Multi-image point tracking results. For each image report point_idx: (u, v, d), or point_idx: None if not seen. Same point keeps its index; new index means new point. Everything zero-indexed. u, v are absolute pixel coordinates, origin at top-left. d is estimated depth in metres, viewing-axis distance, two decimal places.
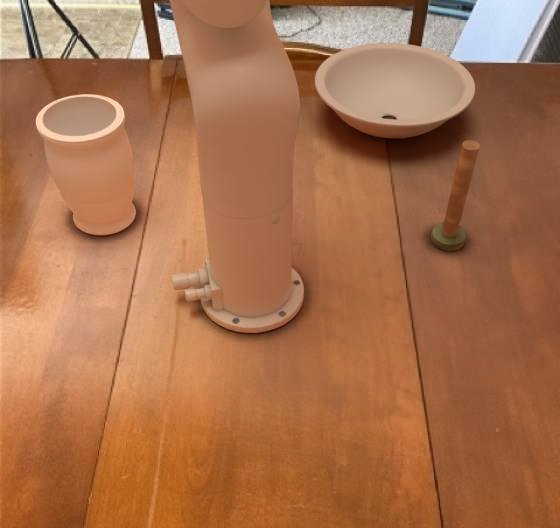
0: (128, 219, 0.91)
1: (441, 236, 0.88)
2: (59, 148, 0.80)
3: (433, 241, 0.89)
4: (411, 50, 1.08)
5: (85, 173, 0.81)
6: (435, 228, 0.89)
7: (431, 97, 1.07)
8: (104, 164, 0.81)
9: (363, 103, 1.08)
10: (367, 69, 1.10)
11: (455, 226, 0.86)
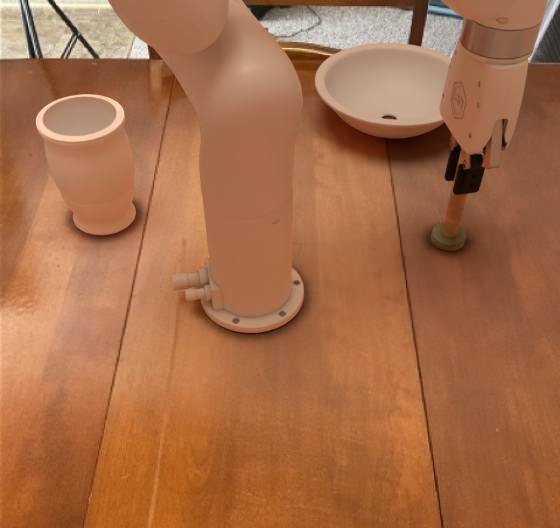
0: (128, 219, 0.91)
1: (441, 236, 0.88)
2: (59, 148, 0.80)
3: (433, 241, 0.89)
4: (411, 50, 1.08)
5: (85, 173, 0.81)
6: (435, 228, 0.89)
7: (431, 97, 1.07)
8: (104, 164, 0.81)
9: (363, 103, 1.08)
10: (367, 69, 1.10)
11: (455, 226, 0.86)
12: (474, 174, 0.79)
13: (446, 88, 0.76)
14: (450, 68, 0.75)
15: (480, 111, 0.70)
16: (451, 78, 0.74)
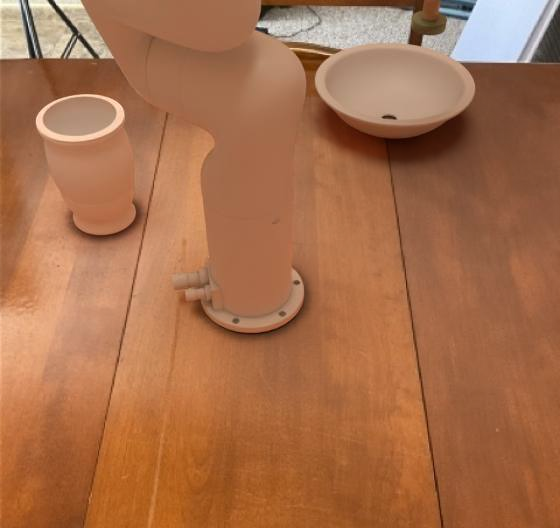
0: (128, 218, 0.91)
1: (421, 20, 0.86)
2: (59, 148, 0.80)
3: (413, 26, 0.86)
4: (411, 50, 1.08)
5: (85, 173, 0.81)
6: (415, 14, 0.87)
7: (431, 97, 1.07)
8: (104, 164, 0.81)
9: (363, 103, 1.08)
10: (367, 68, 1.10)
11: (435, 6, 0.84)
12: None
13: None
14: None
15: None
16: None
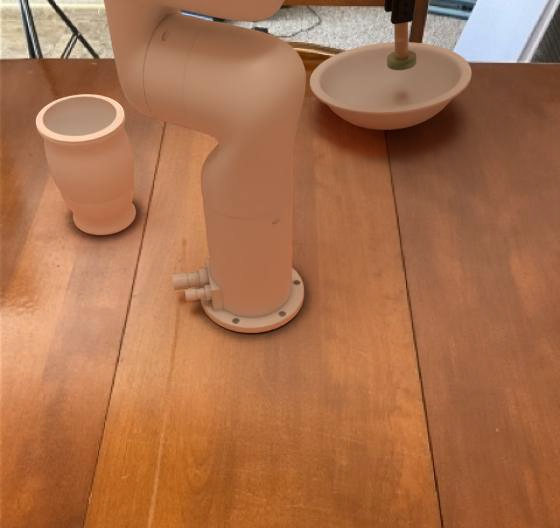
0: (128, 218, 0.91)
1: (394, 58, 1.02)
2: (59, 148, 0.80)
3: (388, 64, 1.03)
4: None
5: (85, 173, 0.81)
6: (390, 54, 1.04)
7: (430, 89, 1.07)
8: (104, 164, 0.81)
9: (362, 102, 1.08)
10: (364, 69, 1.10)
11: (403, 45, 1.01)
12: (406, 2, 0.95)
13: None
14: None
15: None
16: None
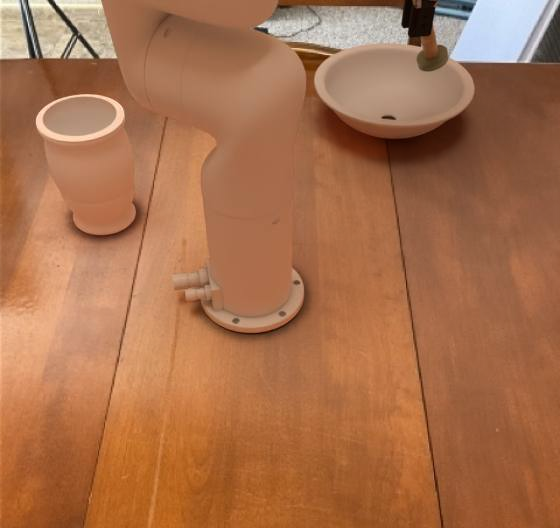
0: (128, 218, 0.91)
1: (423, 58, 0.97)
2: (59, 148, 0.80)
3: (417, 64, 0.98)
4: (411, 51, 1.08)
5: (85, 173, 0.81)
6: (421, 52, 0.98)
7: (431, 98, 1.07)
8: (104, 164, 0.81)
9: (362, 104, 1.08)
10: (367, 69, 1.10)
11: (430, 46, 0.95)
12: (425, 14, 0.90)
13: None
14: None
15: None
16: None
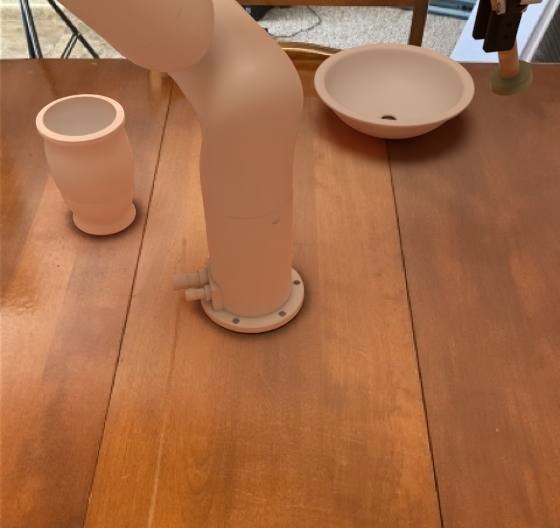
0: (128, 218, 0.91)
1: (498, 78, 0.74)
2: (59, 148, 0.80)
3: (490, 85, 0.75)
4: (411, 50, 1.08)
5: (85, 173, 0.81)
6: (495, 69, 0.75)
7: (431, 98, 1.07)
8: (104, 164, 0.81)
9: (362, 104, 1.08)
10: (367, 69, 1.10)
11: (510, 63, 0.72)
12: (509, 22, 0.67)
13: None
14: None
15: None
16: None
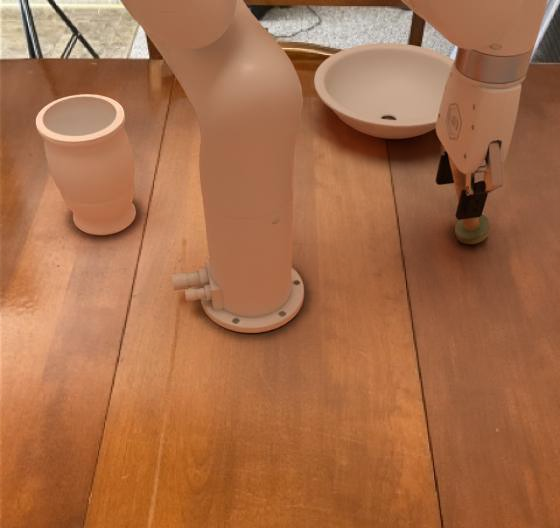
0: (128, 219, 0.91)
1: (462, 229, 0.89)
2: (59, 148, 0.80)
3: (456, 234, 0.89)
4: (411, 50, 1.08)
5: (85, 173, 0.81)
6: (460, 220, 0.90)
7: (431, 98, 1.07)
8: (104, 164, 0.81)
9: (362, 104, 1.08)
10: (367, 69, 1.10)
11: (471, 220, 0.86)
12: (477, 200, 0.79)
13: (442, 109, 0.78)
14: (446, 90, 0.77)
15: (474, 133, 0.72)
16: (447, 99, 0.76)
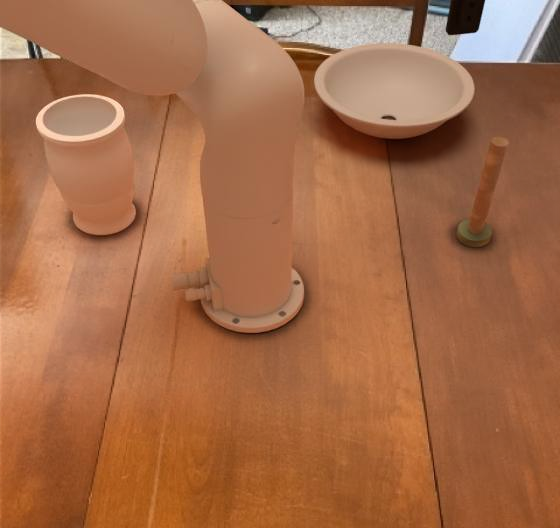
0: (128, 219, 0.91)
1: (465, 230, 0.89)
2: (59, 148, 0.80)
3: (457, 234, 0.89)
4: (411, 50, 1.08)
5: (85, 173, 0.81)
6: (463, 222, 0.90)
7: (431, 98, 1.07)
8: (104, 164, 0.81)
9: (362, 104, 1.08)
10: (367, 69, 1.10)
11: (479, 222, 0.87)
12: (472, 2, 0.63)
13: None
14: None
15: None
16: None
